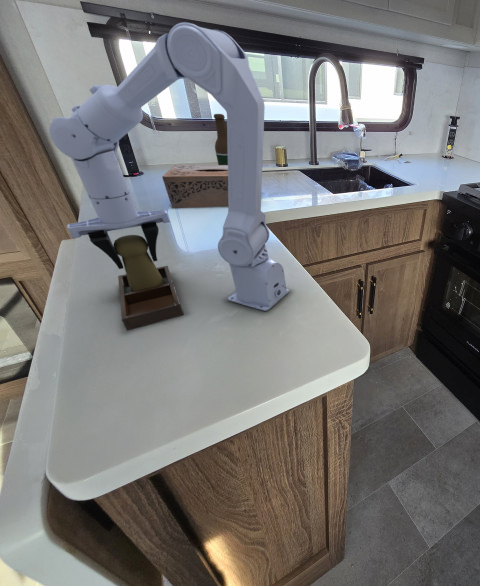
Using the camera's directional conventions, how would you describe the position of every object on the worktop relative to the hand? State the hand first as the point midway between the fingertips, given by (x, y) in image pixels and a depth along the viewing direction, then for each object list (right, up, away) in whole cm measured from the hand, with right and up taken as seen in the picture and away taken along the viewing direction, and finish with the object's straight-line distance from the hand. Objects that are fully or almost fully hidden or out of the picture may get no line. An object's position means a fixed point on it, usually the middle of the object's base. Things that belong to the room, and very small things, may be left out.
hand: (138, 262), depth 65 cm
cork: (0, -5, +3) cm, 6 cm away
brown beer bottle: (-15, +40, +69) cm, 81 cm away
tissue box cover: (-10, +26, +51) cm, 58 cm away
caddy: (+2, -7, +1) cm, 8 cm away
